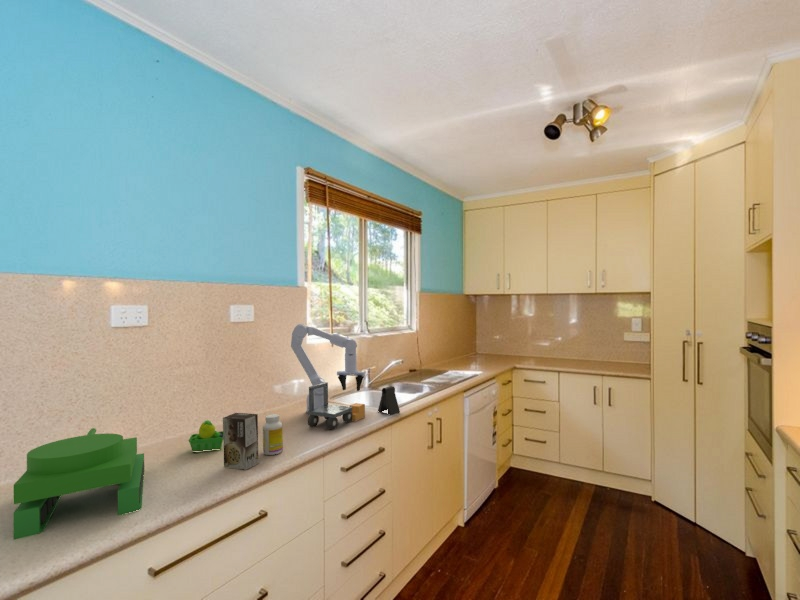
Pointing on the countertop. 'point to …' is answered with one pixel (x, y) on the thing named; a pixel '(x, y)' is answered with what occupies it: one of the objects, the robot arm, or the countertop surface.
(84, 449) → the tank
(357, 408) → the wheel chock
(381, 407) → the black triangular stand
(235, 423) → the coffee box
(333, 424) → the trolley wheels
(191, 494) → the countertop surface
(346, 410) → the trolley
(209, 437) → the fruit basket
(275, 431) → the supplement bottle
